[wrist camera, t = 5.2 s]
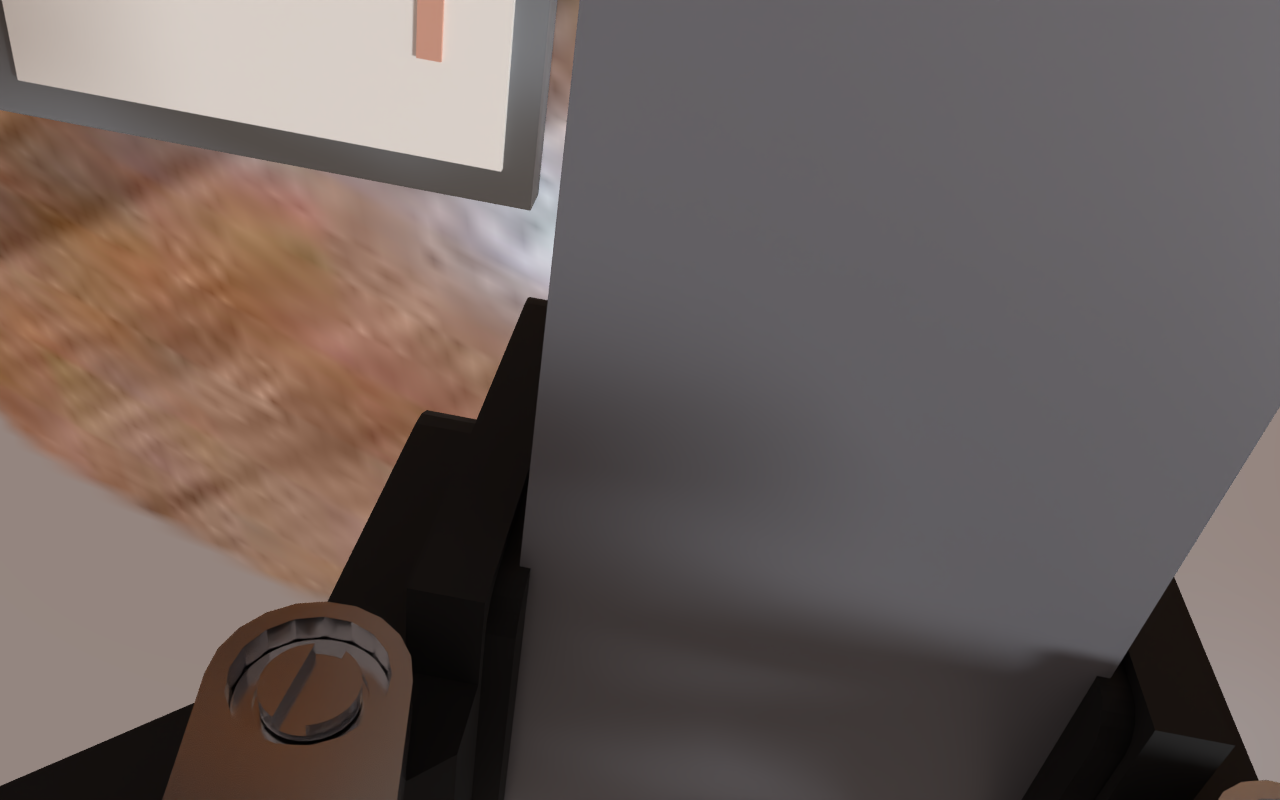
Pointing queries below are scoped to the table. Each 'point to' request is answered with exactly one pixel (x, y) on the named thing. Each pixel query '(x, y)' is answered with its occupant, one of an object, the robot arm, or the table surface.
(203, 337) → the table surface
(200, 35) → the drawing board
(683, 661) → the teal-tipped grey bar
